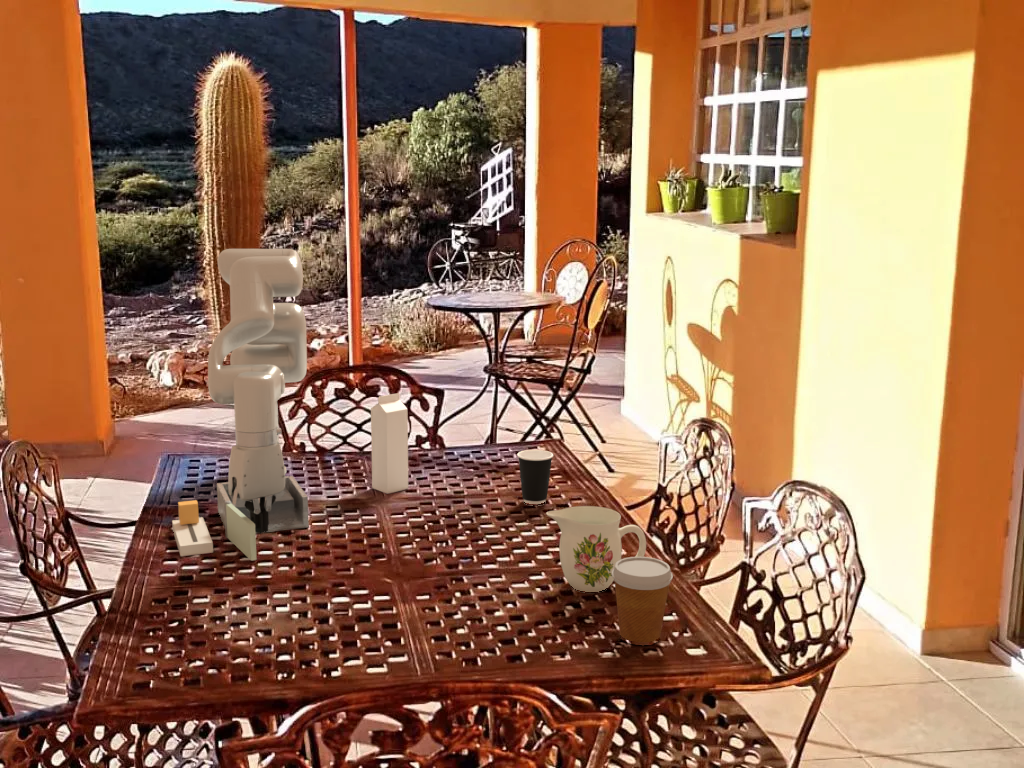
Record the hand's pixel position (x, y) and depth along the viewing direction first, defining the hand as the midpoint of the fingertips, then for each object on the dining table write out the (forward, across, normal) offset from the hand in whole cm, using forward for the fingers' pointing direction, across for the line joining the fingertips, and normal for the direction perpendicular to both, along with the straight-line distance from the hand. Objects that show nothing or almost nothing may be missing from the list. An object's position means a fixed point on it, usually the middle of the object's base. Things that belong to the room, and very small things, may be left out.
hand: (259, 530), depth 207 cm
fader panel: (+4, +6, -15) cm, 16 cm away
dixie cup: (+4, -60, +15) cm, 62 cm away
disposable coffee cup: (+5, -21, +75) cm, 78 cm away
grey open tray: (+4, -11, -16) cm, 20 cm away
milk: (+4, -44, -15) cm, 47 cm away
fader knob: (+2, +4, -19) cm, 20 cm away
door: (+4, +2, -4) cm, 6 cm away
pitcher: (+5, -33, +56) cm, 65 cm away
